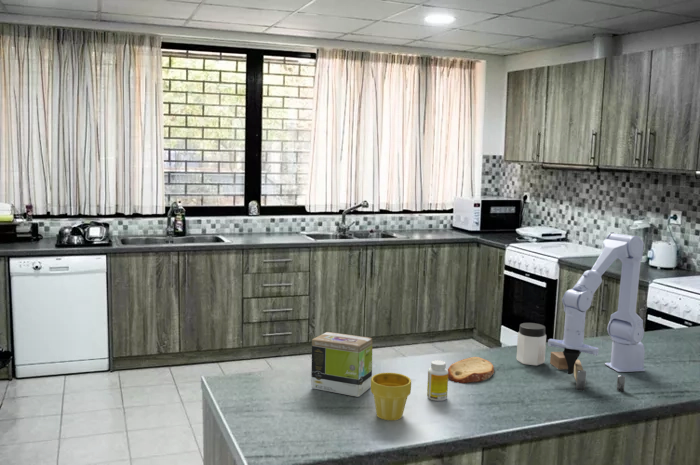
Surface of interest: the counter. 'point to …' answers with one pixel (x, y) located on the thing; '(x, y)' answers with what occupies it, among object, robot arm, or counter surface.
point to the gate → (577, 368)
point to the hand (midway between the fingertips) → (570, 373)
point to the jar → (531, 344)
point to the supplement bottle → (437, 381)
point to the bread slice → (470, 370)
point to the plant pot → (390, 394)
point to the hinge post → (581, 380)
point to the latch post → (620, 383)
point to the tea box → (341, 363)
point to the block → (558, 360)
